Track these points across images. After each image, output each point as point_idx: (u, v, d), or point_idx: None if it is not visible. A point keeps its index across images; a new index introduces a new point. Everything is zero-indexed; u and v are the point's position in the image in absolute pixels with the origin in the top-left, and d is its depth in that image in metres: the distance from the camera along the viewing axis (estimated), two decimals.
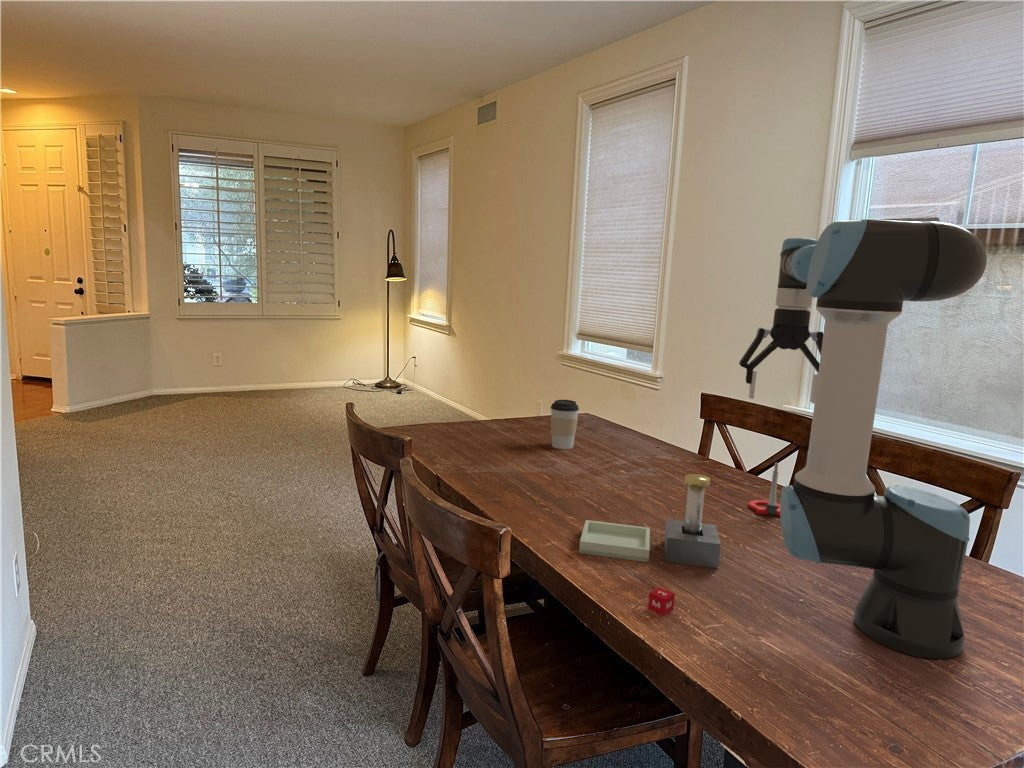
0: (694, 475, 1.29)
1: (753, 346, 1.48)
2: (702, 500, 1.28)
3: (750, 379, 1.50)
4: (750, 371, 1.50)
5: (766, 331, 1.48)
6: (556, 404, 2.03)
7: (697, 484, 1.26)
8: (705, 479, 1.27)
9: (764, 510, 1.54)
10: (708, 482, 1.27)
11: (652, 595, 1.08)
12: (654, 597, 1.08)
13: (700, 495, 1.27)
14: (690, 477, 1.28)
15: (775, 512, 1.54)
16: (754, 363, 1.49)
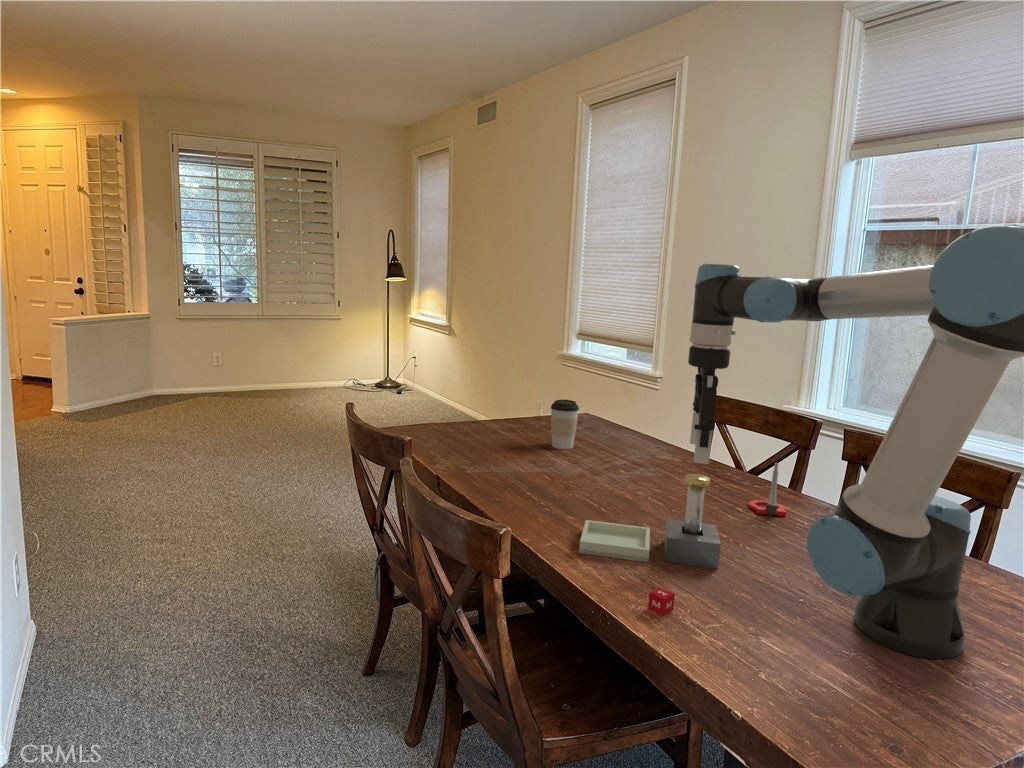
0: (694, 475, 1.29)
1: None
2: (702, 500, 1.28)
3: None
4: (695, 413, 1.34)
5: None
6: (556, 404, 2.03)
7: (697, 484, 1.26)
8: (705, 479, 1.27)
9: (764, 510, 1.54)
10: (708, 482, 1.27)
11: (652, 595, 1.08)
12: (654, 597, 1.08)
13: (700, 495, 1.27)
14: (690, 477, 1.28)
15: (775, 512, 1.54)
16: (694, 404, 1.33)
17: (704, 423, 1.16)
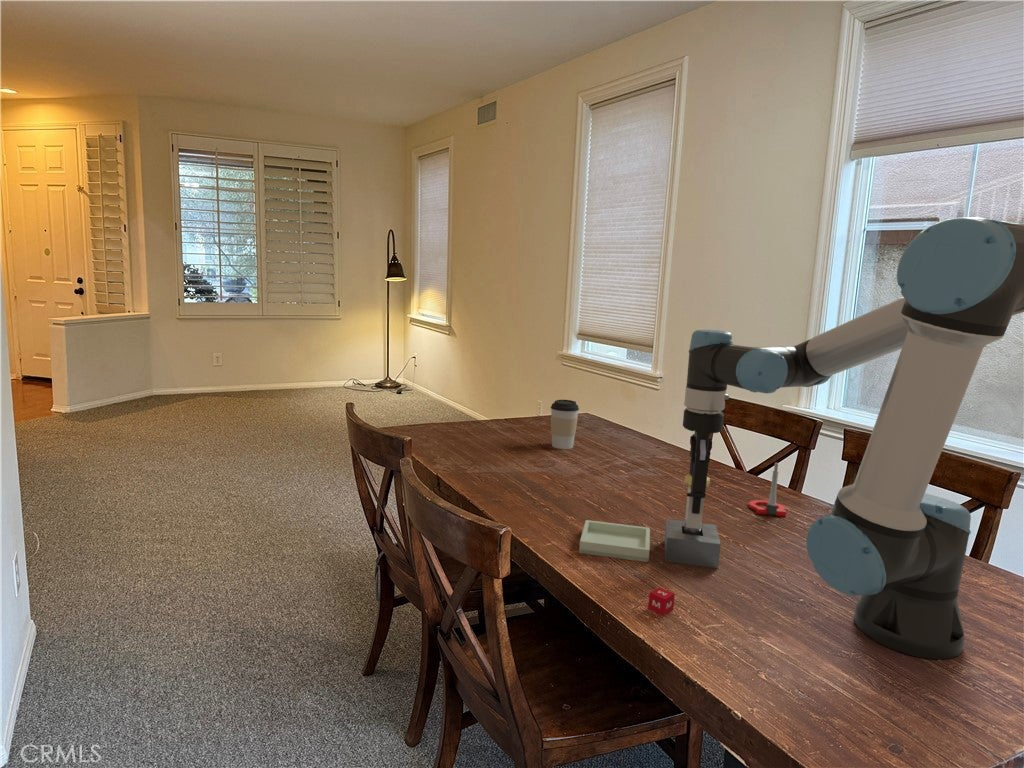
0: None
1: None
2: None
3: None
4: None
5: None
6: (556, 404, 2.03)
7: None
8: None
9: (764, 510, 1.54)
10: (708, 482, 1.27)
11: (652, 595, 1.08)
12: (654, 597, 1.08)
13: None
14: (690, 477, 1.28)
15: (775, 512, 1.54)
16: None
17: (696, 492, 1.24)
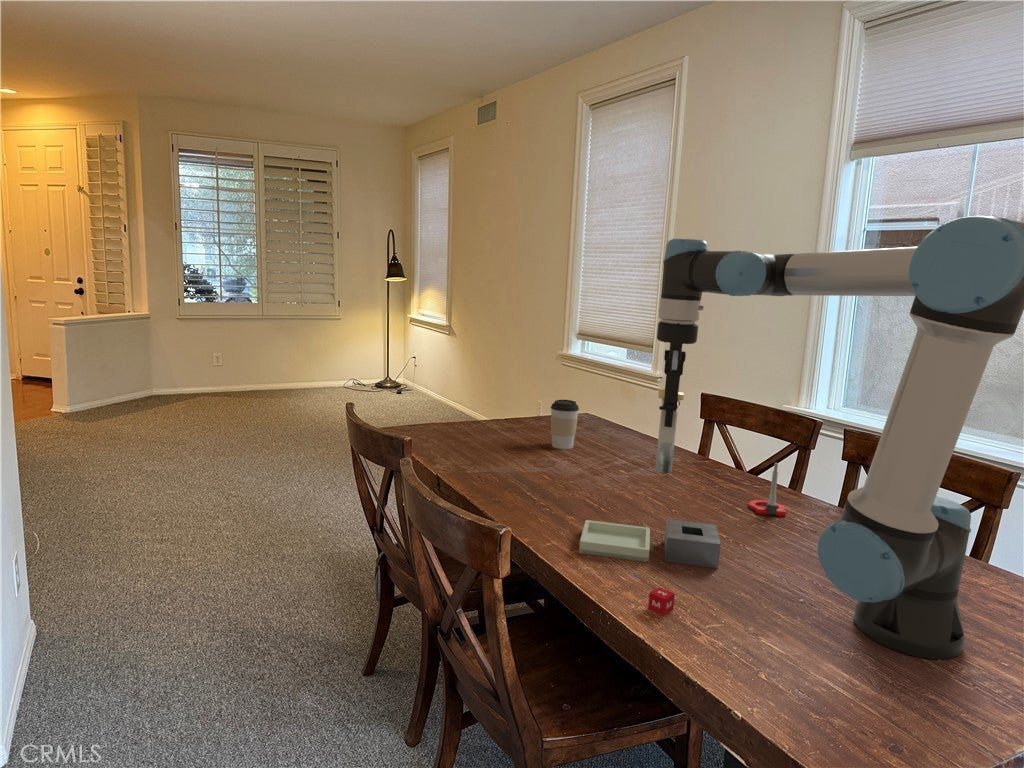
0: None
1: None
2: None
3: None
4: None
5: None
6: (556, 404, 2.03)
7: None
8: (679, 393, 1.25)
9: (764, 510, 1.54)
10: (682, 395, 1.25)
11: (652, 595, 1.08)
12: (654, 597, 1.08)
13: None
14: (664, 391, 1.27)
15: (775, 512, 1.54)
16: None
17: (667, 403, 1.22)
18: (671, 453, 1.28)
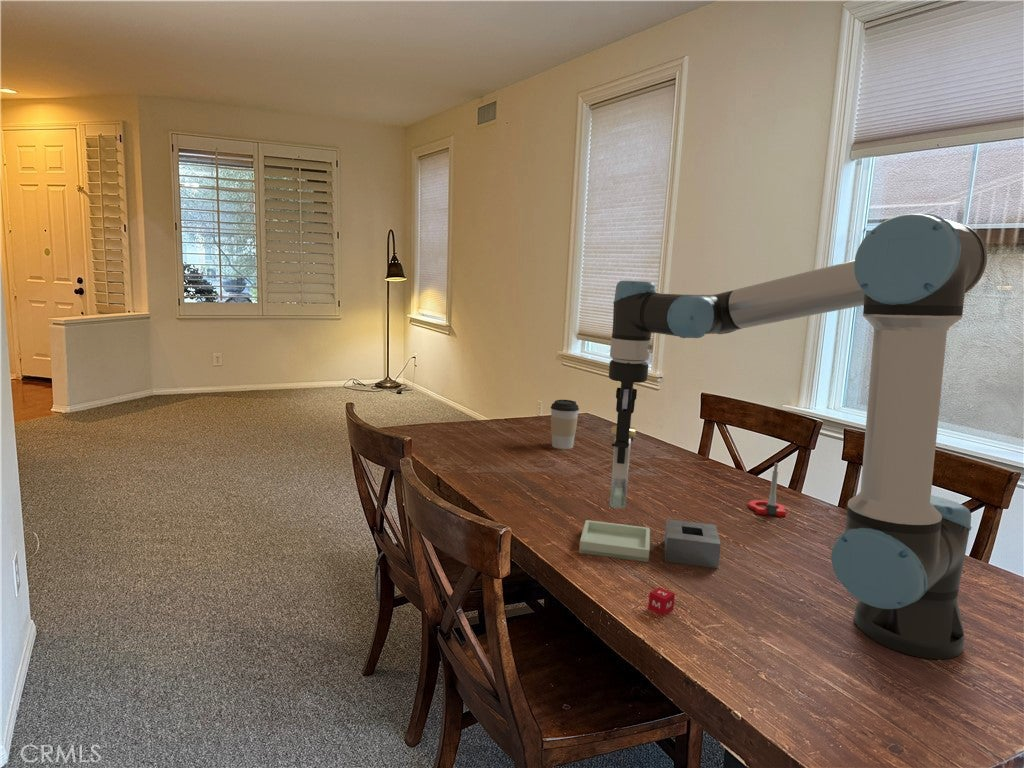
0: None
1: None
2: None
3: None
4: None
5: None
6: (556, 404, 2.03)
7: None
8: (630, 430, 1.28)
9: (764, 510, 1.54)
10: (633, 432, 1.28)
11: (652, 595, 1.08)
12: (654, 597, 1.08)
13: None
14: (616, 428, 1.29)
15: (775, 512, 1.54)
16: None
17: (619, 441, 1.25)
18: (624, 488, 1.30)
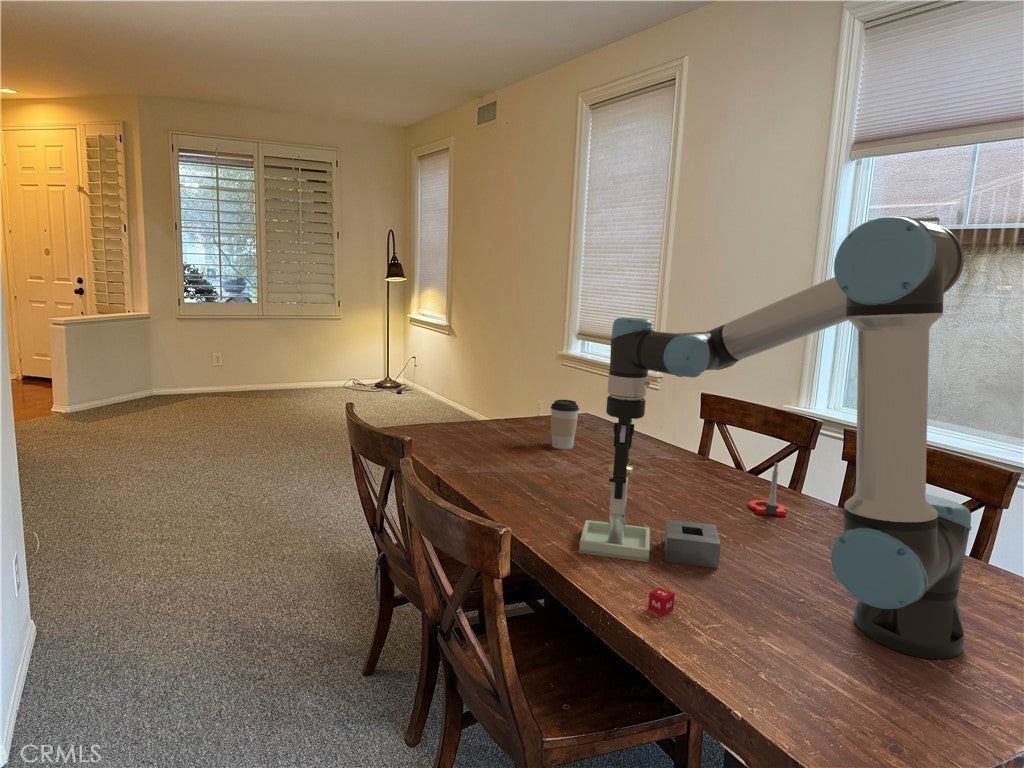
0: None
1: None
2: None
3: None
4: None
5: None
6: (556, 404, 2.03)
7: None
8: (627, 468, 1.29)
9: (764, 510, 1.55)
10: (630, 470, 1.29)
11: (652, 595, 1.08)
12: (654, 597, 1.08)
13: None
14: (613, 466, 1.30)
15: (775, 512, 1.54)
16: None
17: (616, 477, 1.24)
18: (622, 525, 1.31)
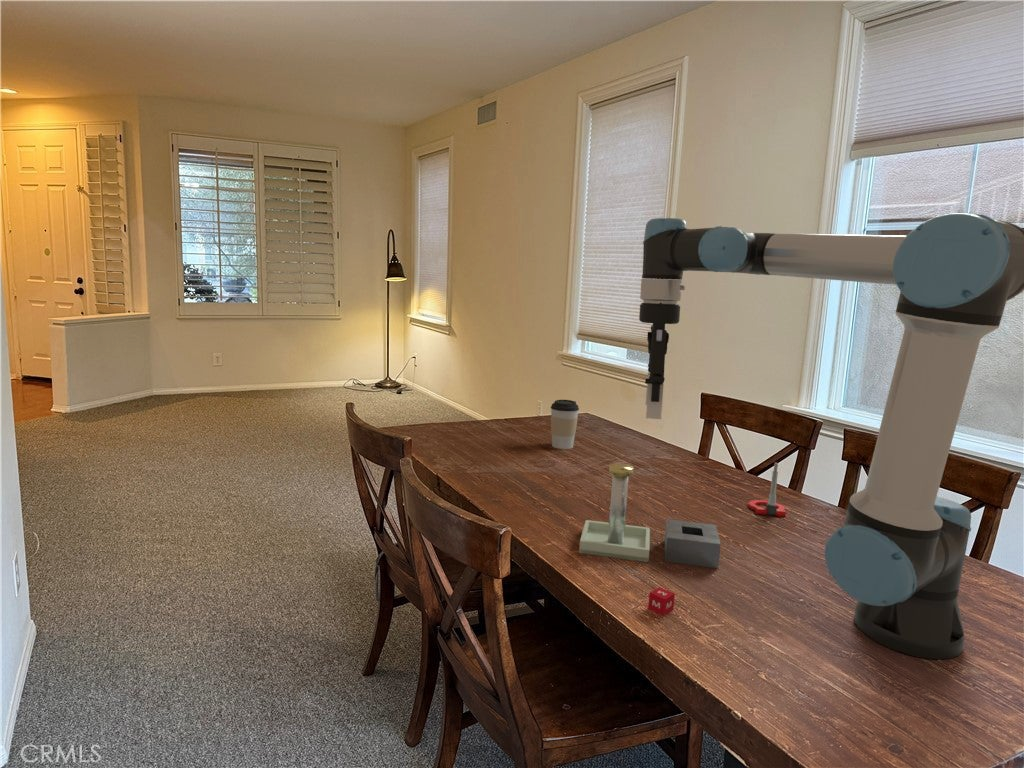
0: (619, 464, 1.32)
1: None
2: (625, 488, 1.30)
3: None
4: None
5: None
6: (556, 404, 2.03)
7: (620, 472, 1.28)
8: (628, 468, 1.29)
9: (764, 510, 1.55)
10: (631, 471, 1.29)
11: (652, 595, 1.08)
12: (654, 597, 1.08)
13: (623, 483, 1.29)
14: (614, 466, 1.30)
15: (775, 512, 1.54)
16: None
17: (654, 376, 1.16)
18: (622, 525, 1.31)
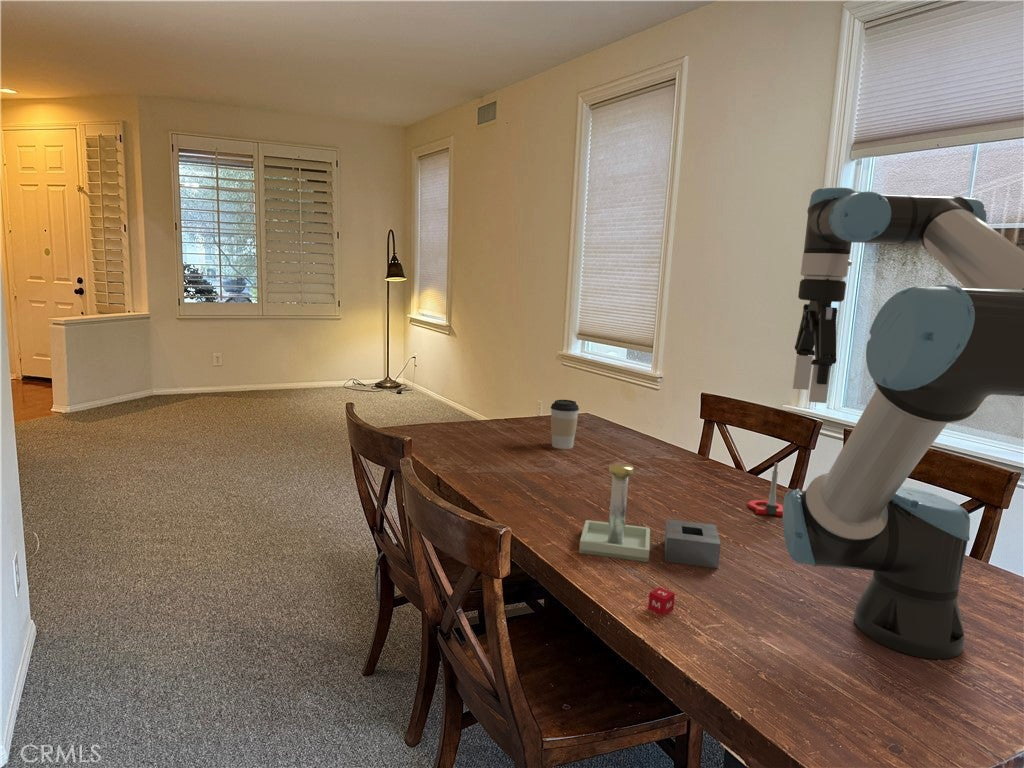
0: (619, 464, 1.32)
1: (800, 325, 1.25)
2: (625, 488, 1.30)
3: None
4: None
5: None
6: (556, 404, 2.03)
7: (619, 472, 1.28)
8: (628, 468, 1.29)
9: (764, 510, 1.55)
10: (631, 471, 1.29)
11: (652, 595, 1.08)
12: (654, 597, 1.08)
13: (623, 483, 1.29)
14: (614, 466, 1.30)
15: (775, 512, 1.54)
16: (798, 346, 1.25)
17: (825, 357, 1.08)
18: (622, 525, 1.31)
